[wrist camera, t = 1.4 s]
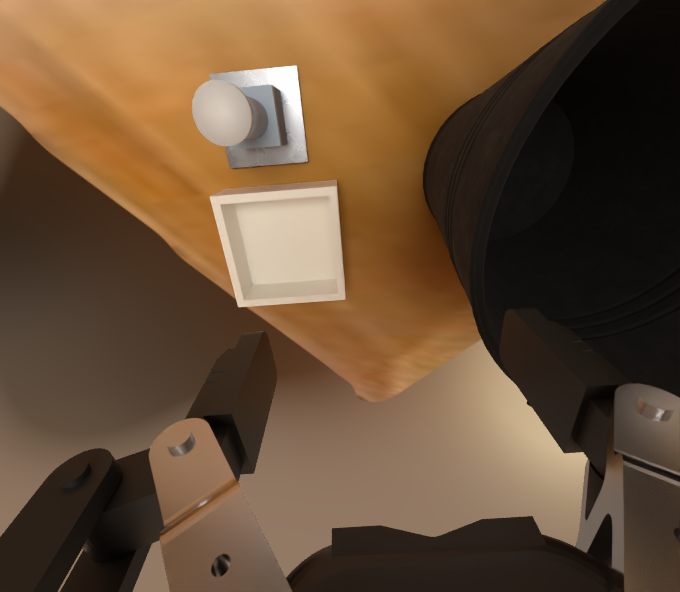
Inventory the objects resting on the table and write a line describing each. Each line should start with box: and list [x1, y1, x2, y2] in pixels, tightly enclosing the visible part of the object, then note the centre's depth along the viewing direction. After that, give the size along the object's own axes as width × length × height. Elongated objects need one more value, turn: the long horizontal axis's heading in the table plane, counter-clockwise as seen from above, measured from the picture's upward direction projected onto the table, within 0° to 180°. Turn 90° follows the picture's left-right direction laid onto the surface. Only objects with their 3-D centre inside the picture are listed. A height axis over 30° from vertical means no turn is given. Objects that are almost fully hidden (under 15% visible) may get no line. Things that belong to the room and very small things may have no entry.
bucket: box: [423, 0, 680, 407], centre depth 28 cm, size 27×28×30 cm
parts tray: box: [210, 180, 346, 307], centre depth 43 cm, size 15×15×6 cm
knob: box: [192, 80, 288, 150], centre depth 32 cm, size 6×6×14 cm
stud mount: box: [209, 66, 308, 168], centre depth 36 cm, size 10×10×5 cm
